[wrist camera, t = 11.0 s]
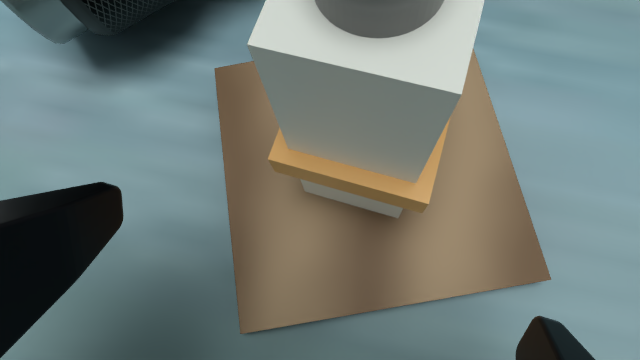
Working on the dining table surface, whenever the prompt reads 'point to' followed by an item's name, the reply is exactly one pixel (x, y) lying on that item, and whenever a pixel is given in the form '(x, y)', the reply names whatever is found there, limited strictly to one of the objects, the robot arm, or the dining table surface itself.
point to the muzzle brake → (82, 15)
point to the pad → (369, 220)
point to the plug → (364, 93)
